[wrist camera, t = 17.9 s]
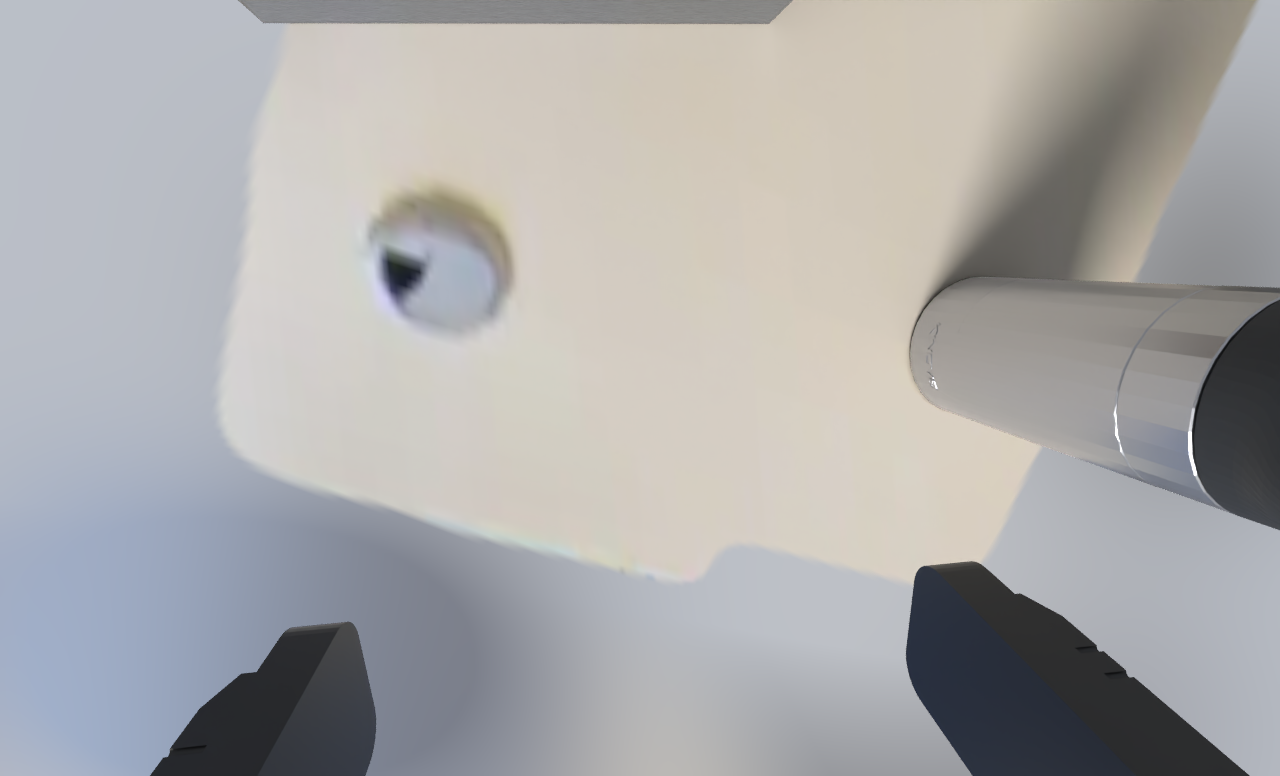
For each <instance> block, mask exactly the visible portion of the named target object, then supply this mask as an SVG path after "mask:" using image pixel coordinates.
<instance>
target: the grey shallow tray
mask: <svg viewBox="0 0 1280 776" xmlns="http://www.w3.org/2000/svg"><path fill="white" fill-rule="evenodd" d="M239 1H240V2H241V3H242V4H243V5H244V6H245V7H246V8H247V9H249V10H250V11H251V12H252V13H253V14H254V15H255V16H256V17H257V18H258V19H260V20H261V21H262V22H263V23H625V24H769V23H770V22H771V21H772V20H773V19H774V18H775V17H776V16H777V15H778V14H779V13H780V12H781V11H782V10H783V9H784V8H786V7H787V6H788V5H789V4H790V3H791V2H792V1H793V0H239Z"/></svg>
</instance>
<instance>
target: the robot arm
mask: <svg viewBox="0 0 1280 776" xmlns="http://www.w3.org/2000/svg"><path fill="white" fill-rule="evenodd" d="M910 362H911V370H912V373H913V377H914V381H915V382H916V384H917V386H918V388H919V390H920V392H921V393H922V394H923V395H924V396H925V398H926V399H927V400H928V401H929V402H931V403H932V404H934V405H935V406H937V407H938V408H940V409H943V410H945V411H948V412H951V413H954V414H956V415H959V416H962V417H965V418H967V419H970V420H973V421H975V422H978V423H981V424H983V425H986V426H988V427H991V428H994V429H997V430H999V431H1002V432H1005V433H1008V434H1011V435H1013V436H1016V437H1019V438H1022V439H1024V440H1027V441H1030V442H1033V443H1036V444H1038V445H1041V446H1044V447H1047V448H1050V449H1052V450H1055V451H1058V452H1061V453H1064V454H1067V455H1069V456H1072V457H1075V458H1077V459H1080V460H1083V461H1086V462H1089V463H1092V464H1094V465H1097V466H1100V467H1102V468H1105V469H1108V470H1111V471H1114V472H1116V473H1119V474H1122V475H1125V476H1128V477H1130V478H1133V479H1136V480H1139V481H1141V482H1144V483H1147V484H1150V485H1153V486H1155V487H1159V488H1162V489H1165V490H1167V491H1170V492H1173V493H1176V494H1179V495H1181V496H1184V497H1187V498H1190V499H1193V500H1195V501H1198V502H1201V503H1204V504H1206V505H1209V506H1212V507H1215V508H1218V509H1220V510H1223V511H1226V512H1229V513H1232V514H1235V515H1237V516H1240V517H1243V518H1246V519H1249V520H1252V521H1255V522H1257V523H1261V524H1263V525H1267V526H1269V527H1272V528H1275V529H1278V530H1280V288H1274V287H1273V288H1272V287H1246V286H1245V287H1244V286H1209V285H1183V284H1156V283H1132V282H1106V281H1080V280H1054V279H1034V278H1007V277H971V278H968V279H964V280H961V281H958V282H956V283H954V284H952V285H950V286H949V287H947V288H945V289H944V290H943V291H942V292H940V293H939V294H938V295H937V296H936V297H935V298H933V300H932V301H931V302H930V303H929V305H928V306H927V307H926V308H925V310H924V311H923V313H922V315H921V317H920V319H919V320H918V322H917V324H916V327H915V330H914V333H913V337H912V342H911V349H910ZM906 661H907V668H908V672H909V676H910V679H911V682H912V685H913V687H914V689H915V691H916V693H917V695H918V697H919V699H920V700H921V702H922V703H923V705H924V706H925V707H926V709H927V710H928V712H929V713H930V715H931V716H932V718H933V719H934V720H935V722H936V723H937V725H938V726H939V728H940V729H941V731H942V732H943V734H944V735H945V736H946V738H947V739H948V741H949V742H950V744H951V745H952V747H953V748H954V749H955V751H956V752H957V754H958V755H959V757H960V758H961V760H962V761H963V762H964V764H965V765H966V767H967V768H968V770H969V771H970V773H971V774H972V775H973V776H1249V775H1248V774H1247V773H1246V772H1245V771H1243V770H1242V769H1241V768H1240V767H1239V766H1237V765H1236V764H1235V763H1234V762H1233V761H1232V760H1230V759H1229V758H1228V757H1227V756H1226V755H1225V754H1223V753H1222V752H1221V751H1220V750H1219V749H1218V748H1216V747H1215V746H1214V745H1213V744H1212V743H1210V742H1209V741H1208V740H1207V739H1206V738H1205V737H1203V736H1202V735H1201V734H1200V733H1199V732H1198V731H1196V730H1195V729H1194V728H1193V727H1192V726H1191V725H1189V724H1188V723H1187V722H1186V721H1185V720H1183V719H1182V718H1181V717H1180V716H1179V715H1178V714H1177V713H1175V712H1174V711H1173V710H1172V709H1170V708H1169V707H1168V706H1167V705H1166V704H1165V703H1163V702H1162V701H1161V700H1160V699H1159V698H1157V696H1155V695H1154V694H1153V693H1152V692H1151V691H1150V690H1148V689H1147V688H1146V687H1145V686H1144V685H1142V684H1141V683H1140V682H1139V681H1138V680H1136V679H1135V678H1134V677H1132V678H1129V677H1128V676H1127V674H1126V670H1125V669H1124V668H1123V667H1121V666H1120V665H1119V664H1118V663H1116V661H1114V660H1113V659H1112V658H1111V657H1110V656H1108V655H1107V654H1106V653H1105V652H1104V651H1102V652H1099V651H1098V650H1097V647H1096V645H1095V644H1094V643H1093V642H1092V641H1091V640H1089V638H1087V637H1086V636H1085V635H1084V634H1083V633H1081V632H1080V631H1079V630H1078V629H1077V628H1076V627H1074V626H1073V625H1072V624H1071V623H1070V622H1068V621H1067V620H1066V619H1065V618H1064V617H1063V616H1061V615H1059V614H1057V613H1056V612H1054V611H1052V610H1050V609H1048V608H1046V607H1044V606H1043V605H1041V604H1039V603H1037V602H1035V601H1033V600H1032V599H1030V598H1028V597H1026V596H1024V595H1022V594H1014V593H1013V592H1012V591H1011V590H1010V589H1009V588H1008V587H1006V586H1005V585H1004V584H1003V583H1002V582H1001V581H1000V580H999V579H997V578H996V577H995V576H994V575H993V574H992V573H991V572H990V571H988V570H987V569H986V568H985V567H984V566H982V565H981V564H979V563H977V562H973V561H971V562H960V563H950V564H940V565H930V566H923V567H921V568H920V569H919V570H918V571H917V573H916V576H915V580H914V588H913V597H912V605H911V613H910V622H909V630H908V639H907V648H906ZM375 734H376V714H375V707H374V702H373V698H372V693H371V689H370V684H369V680H368V676H367V671H366V667H365V662H364V658H363V653H362V649H361V644H360V640H359V635H358V632H357V630H356V628H355V626H354V625H353V624H352V623H351V622H341V623H331V624H321V625H312V626H302V627H292V628H289V629H288V630H287V631H285V632H284V633H283V634H282V636H281V637H280V638H279V640H278V641H277V643H276V644H275V646H274V647H273V649H272V650H271V652H270V653H269V655H268V656H267V658H266V659H265V660H264V662H263V664H262V665H261V666H260V668H259V669H258V671H257V672H254V673H244V674H241V675H239V676H238V677H237V678H236V679H235V680H233V681H232V682H231V683H230V684H229V685H227V686H226V687H225V688H224V689H223V690H221V691H220V692H219V693H218V694H217V695H215V696H214V697H213V698H212V699H211V700H209V702H207V703H206V704H205V705H204V706H202V707H201V708H200V709H199V710H198V712H197V713H196V714H195V716H194V717H193V718H192V720H191V721H190V722H189V724H188V725H187V726H186V728H185V729H184V731H183V732H182V733H181V735H180V736H179V737H178V739H177V740H176V741H175V743H174V744H173V745H172V747H171V748H170V754H169V756H168V757H165V758H163V759H162V760H161V762H160V763H159V764H158V766H157V767H156V768H155V770H154V771H153V772H152V774H151V775H150V776H365V775H366V772H367V769H368V766H369V764H370V760H371V757H372V753H373V749H374V742H375Z"/></svg>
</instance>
